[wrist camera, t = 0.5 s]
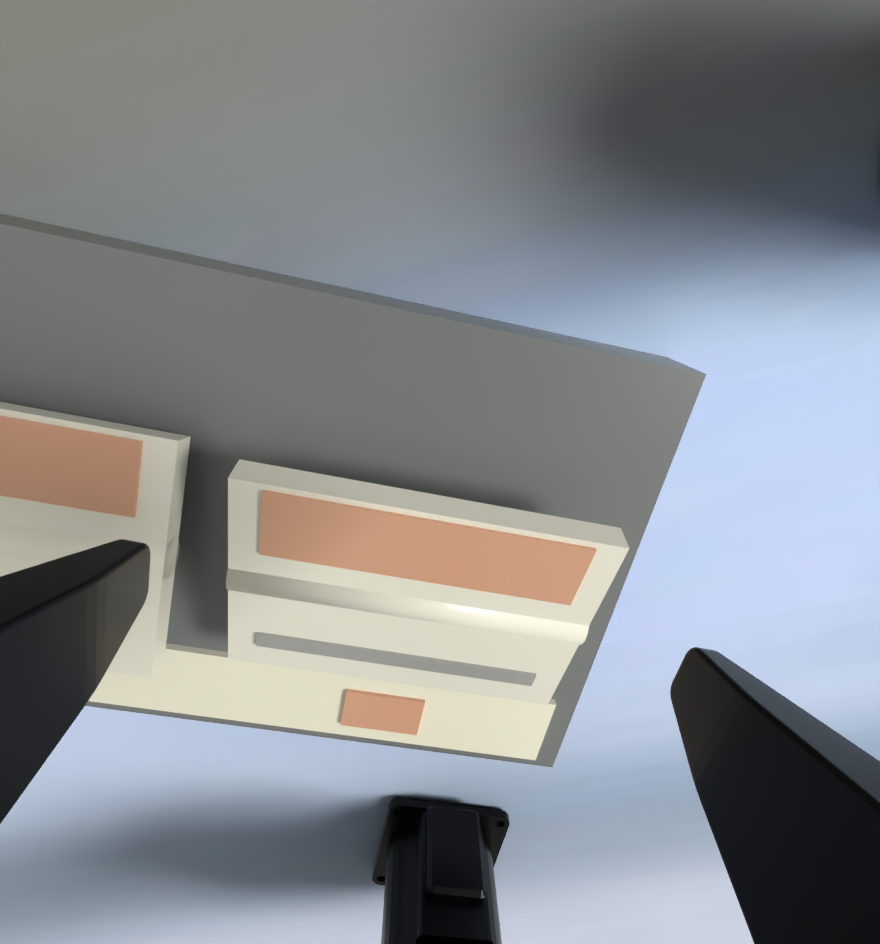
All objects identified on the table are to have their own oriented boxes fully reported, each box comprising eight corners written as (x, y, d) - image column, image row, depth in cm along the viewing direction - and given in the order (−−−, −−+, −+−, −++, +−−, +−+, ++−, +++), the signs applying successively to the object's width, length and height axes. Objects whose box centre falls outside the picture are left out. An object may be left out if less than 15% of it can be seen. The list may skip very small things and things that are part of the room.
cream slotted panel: (543, 678, 22) (548, 709, 21) (238, 632, 21) (225, 663, 20) (619, 524, 18) (631, 553, 16) (241, 455, 16) (225, 481, 15)
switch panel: (539, 714, 27) (554, 776, 24) (-113, 622, 24) (-196, 678, 21) (668, 357, 21) (713, 377, 17) (-203, 169, 18) (-343, 152, 14)
